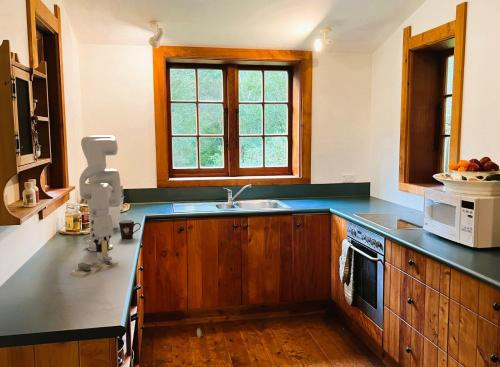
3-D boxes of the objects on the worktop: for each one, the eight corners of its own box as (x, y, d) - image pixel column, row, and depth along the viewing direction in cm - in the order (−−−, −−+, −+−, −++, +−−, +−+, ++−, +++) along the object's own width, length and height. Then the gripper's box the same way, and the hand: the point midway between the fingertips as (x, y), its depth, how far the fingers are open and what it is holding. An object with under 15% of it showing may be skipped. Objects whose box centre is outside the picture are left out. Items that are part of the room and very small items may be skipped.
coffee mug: (116, 239, 262) (115, 222, 260) (124, 236, 270) (123, 219, 269) (134, 240, 259) (134, 223, 258) (142, 237, 267) (141, 220, 266)
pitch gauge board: (82, 277, 195) (82, 267, 195) (70, 274, 199) (69, 265, 199) (118, 265, 212) (117, 256, 212) (106, 262, 216) (105, 254, 216)
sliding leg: (107, 264, 207) (106, 242, 206) (97, 262, 211) (96, 240, 210) (112, 262, 210) (112, 241, 209) (102, 260, 214) (101, 239, 212)
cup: (103, 227, 295) (102, 199, 293) (119, 224, 302) (118, 198, 299) (109, 229, 287) (107, 201, 285) (125, 227, 293) (124, 200, 291)
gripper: (91, 216, 200) (93, 256, 202) (119, 210, 213) (121, 248, 216) (80, 214, 203) (82, 254, 206) (108, 208, 217) (110, 246, 220)
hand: (102, 250), depth 211 cm, fingers closed on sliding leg, 3 cm apart
